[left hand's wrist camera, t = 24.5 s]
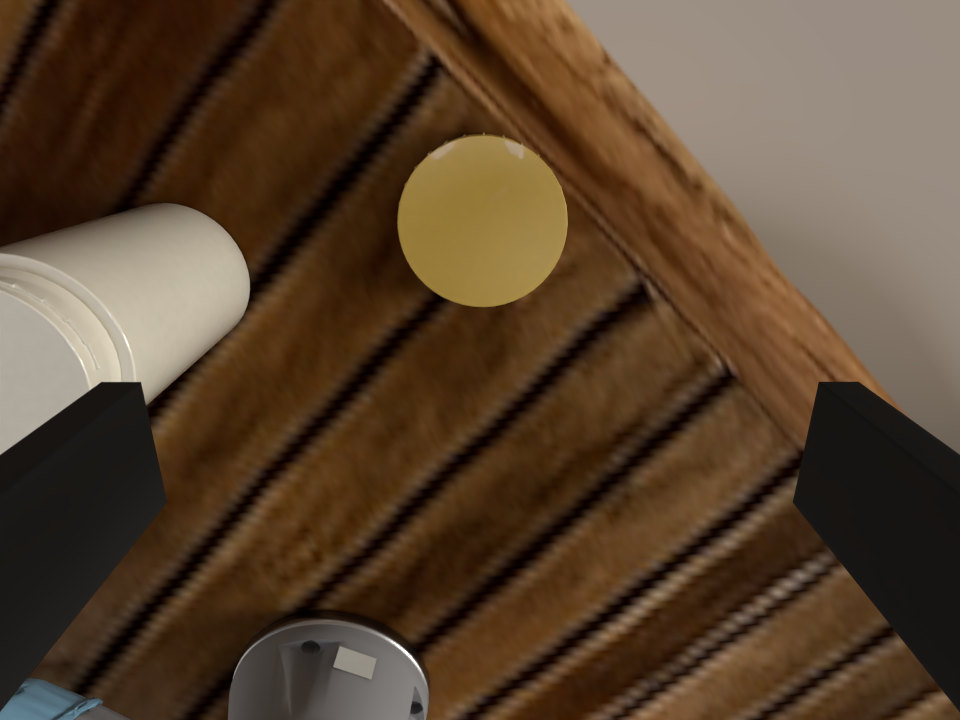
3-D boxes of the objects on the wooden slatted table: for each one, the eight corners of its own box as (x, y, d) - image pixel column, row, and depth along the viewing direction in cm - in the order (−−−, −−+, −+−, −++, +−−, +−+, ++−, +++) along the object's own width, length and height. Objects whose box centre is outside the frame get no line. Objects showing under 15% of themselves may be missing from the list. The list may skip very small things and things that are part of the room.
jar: (162, 170, 36) (-62, 213, 21) (280, 281, 38) (153, 390, 23) (73, 272, 38) (-186, 376, 23) (190, 371, 40) (22, 522, 26)
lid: (456, 324, 39) (455, 337, 37) (369, 190, 36) (362, 196, 34) (591, 245, 37) (598, 253, 35) (511, 98, 34) (513, 97, 32)
